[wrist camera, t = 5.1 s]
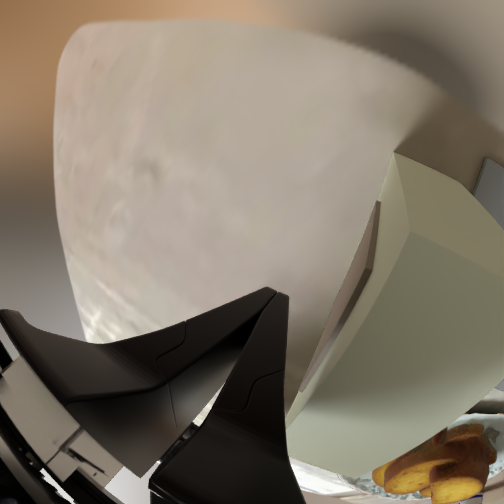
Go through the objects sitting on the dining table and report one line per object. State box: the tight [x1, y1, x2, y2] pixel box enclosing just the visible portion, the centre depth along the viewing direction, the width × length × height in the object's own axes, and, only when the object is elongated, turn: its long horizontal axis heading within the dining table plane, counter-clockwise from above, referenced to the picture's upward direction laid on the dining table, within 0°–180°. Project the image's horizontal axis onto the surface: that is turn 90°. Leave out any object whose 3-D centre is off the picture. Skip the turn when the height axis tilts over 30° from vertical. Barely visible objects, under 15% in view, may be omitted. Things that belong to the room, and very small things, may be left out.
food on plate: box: [337, 413, 504, 504], centre depth 18 cm, size 25×25×7 cm
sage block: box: [285, 152, 504, 478], centre depth 10 cm, size 10×4×11 cm, turn 170°
